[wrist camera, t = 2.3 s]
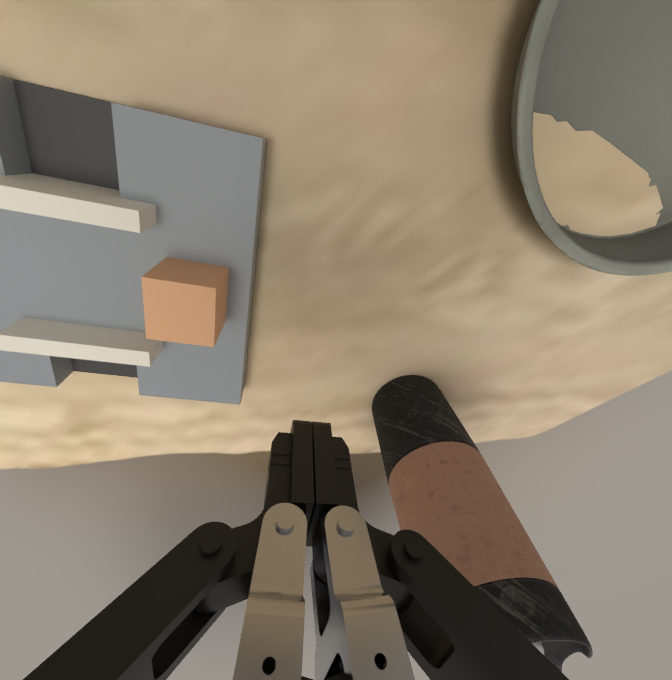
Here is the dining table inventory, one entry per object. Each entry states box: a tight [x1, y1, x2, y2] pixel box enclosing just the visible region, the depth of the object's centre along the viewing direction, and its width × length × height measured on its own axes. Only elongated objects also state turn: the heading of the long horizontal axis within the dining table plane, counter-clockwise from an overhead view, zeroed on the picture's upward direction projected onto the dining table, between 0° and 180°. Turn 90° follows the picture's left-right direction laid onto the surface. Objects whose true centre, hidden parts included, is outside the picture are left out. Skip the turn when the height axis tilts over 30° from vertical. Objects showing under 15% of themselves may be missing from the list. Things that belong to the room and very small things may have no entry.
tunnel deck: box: [0, 76, 267, 404], centre depth 22 cm, size 20×22×5 cm
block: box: [141, 257, 229, 347], centre depth 22 cm, size 4×4×4 cm
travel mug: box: [372, 376, 592, 672], centre depth 25 cm, size 8×8×20 cm
